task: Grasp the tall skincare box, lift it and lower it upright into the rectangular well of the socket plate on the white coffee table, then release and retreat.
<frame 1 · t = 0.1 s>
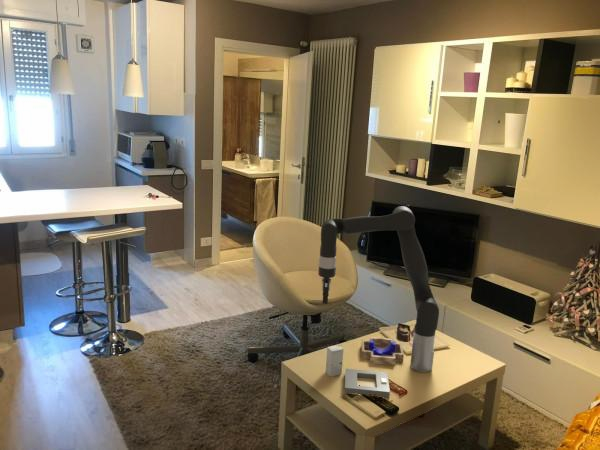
hand: (325, 299, 223), 29 cm above the table, fingers open, 8 cm apart
skincare box: (333, 373, 218), on the table
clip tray: (381, 353, 237), on the table
cable clip: (381, 354, 237), resting in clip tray
socket plate: (366, 386, 209), on the table
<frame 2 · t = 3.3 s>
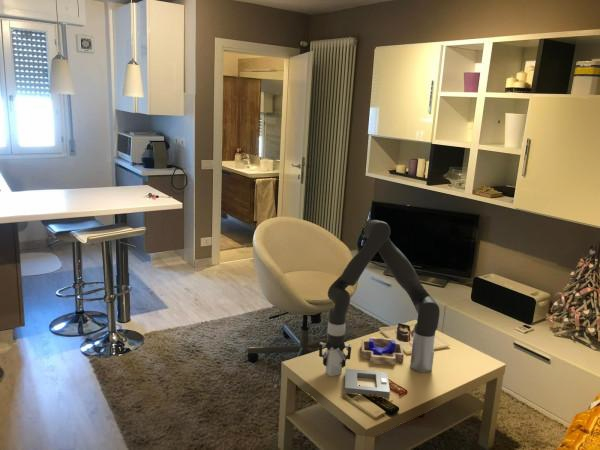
hand: (333, 365, 217), 3 cm above the table, fingers closed on skincare box, 7 cm apart
skincare box: (333, 373, 218), on the table, touching gripper
cable clip: (381, 353, 238), resting in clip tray
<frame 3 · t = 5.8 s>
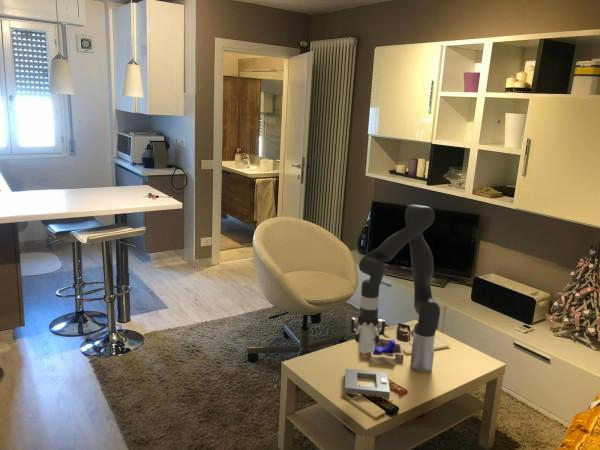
hand: (366, 342, 206), 19 cm above the table, fingers closed on skincare box, 7 cm apart
skincare box: (366, 350, 207), point 16 cm above the table, touching gripper
when the fingers open (5 cm above the table, at t = 8.7 s): skincare box stays where it is, resting on socket plate.
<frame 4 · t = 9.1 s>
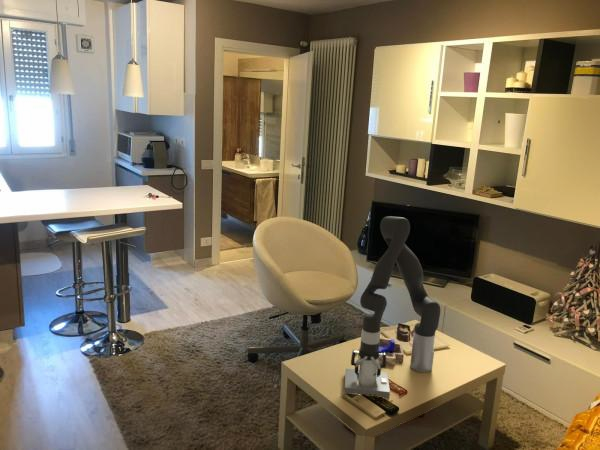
hand: (367, 374, 208), 5 cm above the table, fingers open, 8 cm apart
skincare box: (366, 385, 209), resting on socket plate
everything else where it was.
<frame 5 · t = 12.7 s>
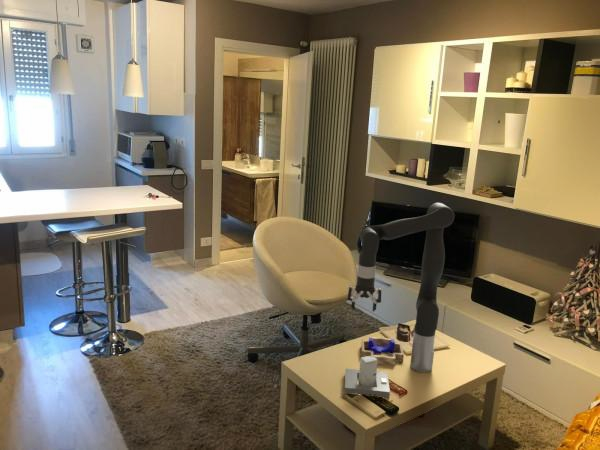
hand: (363, 310, 216), 28 cm above the table, fingers open, 8 cm apart
nothing on the table moved.
at the end: skincare box 0.2 cm off-centre on the socket plate, point 0.5 cm above the socket plate's base; skincare box tilted 0°; the gripper is holding nothing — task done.
